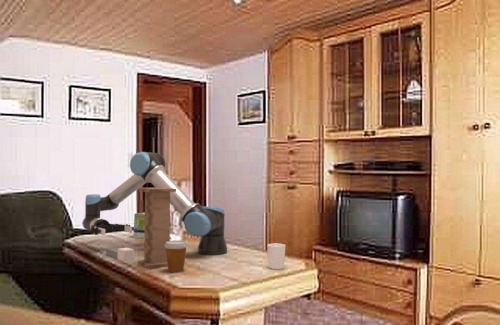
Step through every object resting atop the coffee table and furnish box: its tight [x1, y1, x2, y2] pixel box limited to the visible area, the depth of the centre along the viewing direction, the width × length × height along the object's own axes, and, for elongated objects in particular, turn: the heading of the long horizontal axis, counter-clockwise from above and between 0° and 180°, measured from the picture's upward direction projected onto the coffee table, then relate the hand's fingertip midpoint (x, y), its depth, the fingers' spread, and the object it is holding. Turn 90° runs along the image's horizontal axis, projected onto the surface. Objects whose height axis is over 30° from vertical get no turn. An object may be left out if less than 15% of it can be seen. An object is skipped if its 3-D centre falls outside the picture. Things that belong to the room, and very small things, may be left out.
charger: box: [105, 247, 136, 263], centre depth 217 cm, size 20×5×5 cm, turn 42°
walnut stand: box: [137, 186, 176, 270], centre depth 203 cm, size 12×12×34 cm
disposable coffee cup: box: [165, 240, 188, 273], centre depth 192 cm, size 10×10×12 cm
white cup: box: [267, 242, 286, 270], centre depth 200 cm, size 8×8×10 cm
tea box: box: [133, 211, 145, 240], centre depth 280 cm, size 15×10×15 cm, turn 159°
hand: (118, 231), depth 219 cm, fingers open, 13 cm apart
